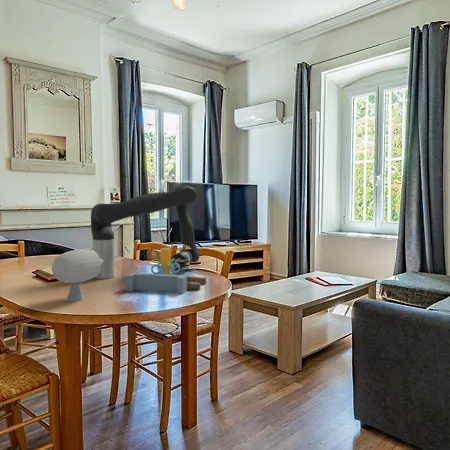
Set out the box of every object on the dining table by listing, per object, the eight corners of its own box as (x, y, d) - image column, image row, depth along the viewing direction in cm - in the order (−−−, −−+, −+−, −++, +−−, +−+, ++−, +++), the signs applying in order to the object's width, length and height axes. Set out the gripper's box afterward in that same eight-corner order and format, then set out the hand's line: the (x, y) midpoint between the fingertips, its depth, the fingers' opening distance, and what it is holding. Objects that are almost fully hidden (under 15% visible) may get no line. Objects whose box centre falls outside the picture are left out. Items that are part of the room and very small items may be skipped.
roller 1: (188, 278, 175) (187, 284, 173) (187, 275, 172) (186, 281, 171) (206, 279, 174) (205, 285, 172) (205, 276, 171) (204, 282, 170)
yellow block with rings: (172, 288, 163) (171, 251, 161) (148, 286, 165) (147, 250, 164) (182, 281, 174) (182, 247, 173) (160, 279, 177) (159, 246, 176)
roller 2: (179, 289, 160) (179, 282, 160) (181, 288, 163) (181, 281, 163) (198, 291, 159) (199, 283, 159) (200, 289, 162) (200, 282, 162)
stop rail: (125, 290, 157) (125, 275, 156) (131, 287, 163) (131, 272, 162) (182, 294, 153) (183, 278, 153) (186, 290, 159) (187, 275, 159)
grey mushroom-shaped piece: (115, 299, 143) (115, 250, 142) (55, 306, 132) (55, 253, 131) (103, 291, 156) (102, 246, 155) (47, 297, 145) (46, 248, 144)
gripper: (167, 251, 193) (155, 256, 176) (194, 252, 191) (185, 257, 174) (167, 267, 193) (155, 273, 176) (194, 268, 191) (185, 275, 174)
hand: (170, 265), depth 175 cm, fingers closed
